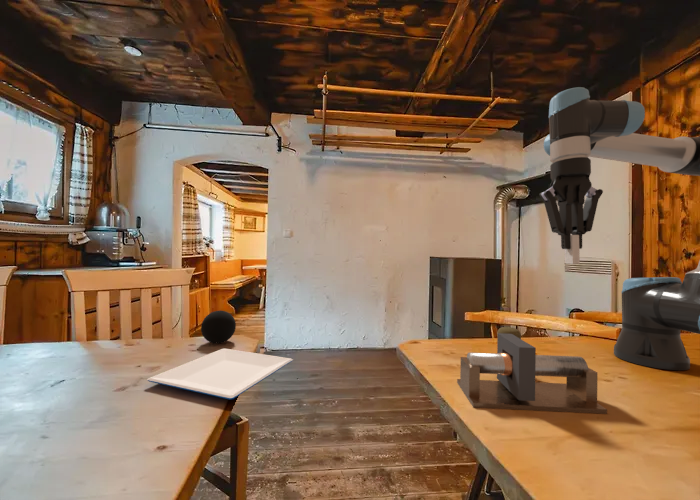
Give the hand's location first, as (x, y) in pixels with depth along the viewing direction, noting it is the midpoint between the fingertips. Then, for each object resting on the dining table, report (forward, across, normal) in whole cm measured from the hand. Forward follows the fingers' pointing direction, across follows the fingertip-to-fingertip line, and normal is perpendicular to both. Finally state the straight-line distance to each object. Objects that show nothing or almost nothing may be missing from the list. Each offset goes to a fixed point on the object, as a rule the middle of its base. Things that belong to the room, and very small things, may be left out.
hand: (572, 263), depth 70 cm
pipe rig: (+27, +15, +8) cm, 32 cm away
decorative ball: (+24, +94, -22) cm, 99 cm away
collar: (+25, +17, +8) cm, 31 cm away
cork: (+27, +13, -4) cm, 30 cm away
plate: (+25, +80, +2) cm, 84 cm away
